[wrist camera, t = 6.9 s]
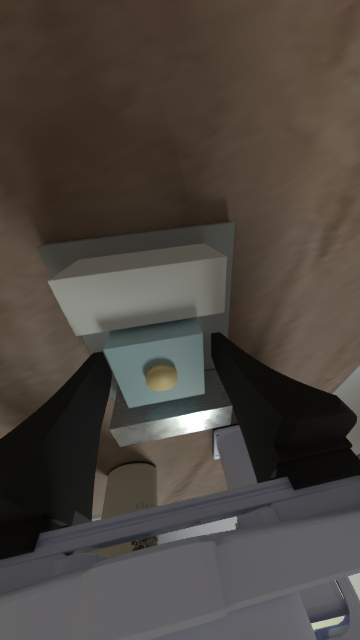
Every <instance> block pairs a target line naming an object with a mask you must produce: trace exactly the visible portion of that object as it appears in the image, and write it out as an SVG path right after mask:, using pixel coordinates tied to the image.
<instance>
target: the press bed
mask: <svg viewBox="0 0 360 640" xmlns="http://www.w3.org/2000/svg"><path fill="white" fill-rule="evenodd" d="M234 234H235V222H230V221H228V222H220V223H212V224H203V225H195V226H187V227H179V228H171V229H163V230H154V231H146V232H138V233H130V234H122V235H114V236H105V237H97V238H89V239H81V240H73V241H65V242H57V243H48V244H43V245H40V246H37V248H38V250H39V252H40V254H41V256H42V258H43V260H44V262H45V264H46V266H47V268H48V270H49V272H50V274H51V276H52V278H51V279H50V280H48V283H49V285H50V287H51V289H52V291H53V293H54V295H55V297H56V299H57V301H58V303H59V305H60V306H61V308H62V310H63V312H64V314H65V316H66V318H67V320H68V322H69V324H70V326H71V328H72V330H73V332H74V333H75V335H76V336H80V335H81V336H82V338H83V340H84V342H85V344H86V346H87V348H88V350H89V352H90V354H91V355H92V354H93V353H96V352H102V351H103V353H104V356H105V358H106V360H107V362H108V359H107V357H106V355H105V352H104V350H103V349H104V346H105V343H106V340H107V338H108V335H109V332H110V331H112V330H118V329H124V328H130V327H137V326H143V325H149V324H156V323H162V322H168V321H174V320H181V319H187V318H193V317H196V319H197V321H198V324H199V326H200V328H201V331H202V333H203V357H204V371H209V370H214V369H215V366H214V363H213V360H212V357H211V333H216V332H221V333H222V334H223V335H224V336H225V337H227V338H228V330H229V314H230V298H231V282H232V266H233V250H234ZM108 365H109V367H110V369H111V371H112V368H111V366H110V364H109V362H108ZM117 387H119V384H118V382H117V380H116V378H115V375H114V373H113V371H112V381H111V389H110V394H111V396H112V398H113V400H114V402H115V398H116V392H117Z"/></svg>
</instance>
